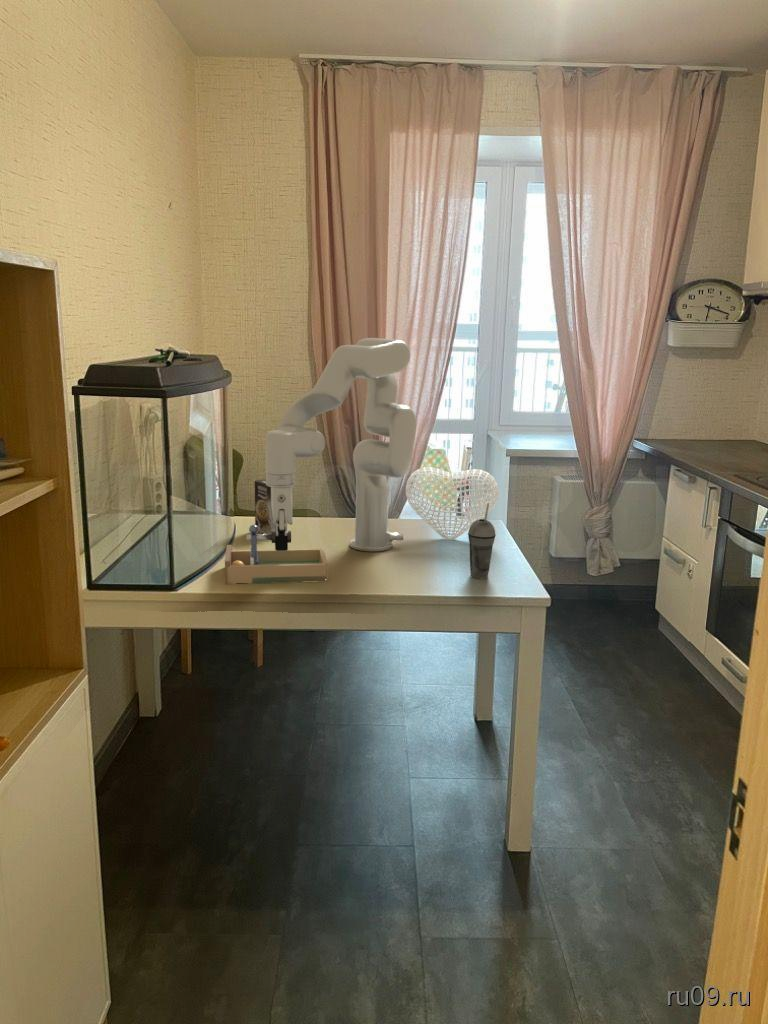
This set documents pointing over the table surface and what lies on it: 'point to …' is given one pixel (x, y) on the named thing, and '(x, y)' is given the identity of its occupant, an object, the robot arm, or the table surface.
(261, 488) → the coffee box
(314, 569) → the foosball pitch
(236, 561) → the foosball ball
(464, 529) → the heart
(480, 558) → the beverage cup
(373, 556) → the table surface
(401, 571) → the table surface
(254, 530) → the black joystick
